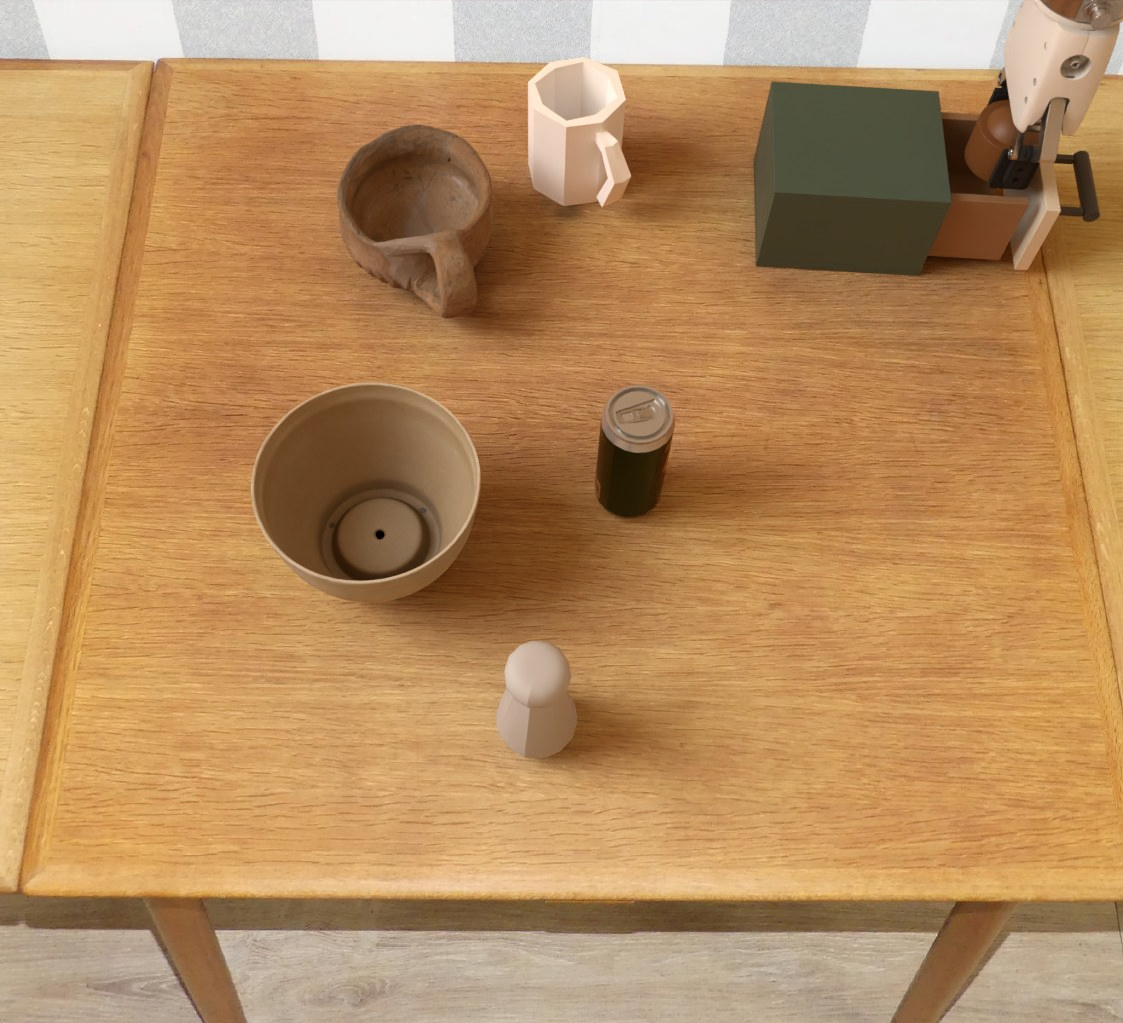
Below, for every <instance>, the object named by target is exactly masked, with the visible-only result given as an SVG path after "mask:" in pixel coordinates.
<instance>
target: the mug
mask: <svg viewBox="0 0 1123 1023" xmlns="http://www.w3.org/2000/svg"><path fill="white" fill-rule="evenodd" d="M626 101H627V98H626V95H625V92H624V88H623V84H622V81H621V78H620V74H619V71H618V70H617V69H614V68H612V67H611V66H607V65H605V64H602V63H600V62H598V61H596V60H593V59H590V58H588V57H586V56H582V57H581V56H580V57H576V58H570V59H569V58H568V59H563V60H555V61H550V62H548V63H547V64H546V65H545V66H544V67H543V68H542V69H541V70H540V71H539V72H537V73H536V74H535V75H534V76H533V77H532V78H531V79H530V80H529V81H527V155H528V156H527V164H528V168H529V169H528V170H529V174H530V179H531V183H532V188H533V190H535V191H536V192H538V193H540V194H542V195H543V196H545V197H547V198H549V199H550V200H552V201H553V202H555V203H557V204H559V205H561V206H563V207H568V206H569V207H570V206H575V205H576V206H577V205H584V204H593V203H597V202H598V203H599V205H600V206H601V208H604V207H607V206H609V205H612V204H614V203H615V202H618V201H620V200H621V199H622V197H623V196H624V194H625V191H626V189H627V187H628V184H629V182H630V180H631V178H632V174H631V171H630V169H629V165H628V163H627V161H626V159H625V155H624V153H623V150H622V148H623V147H622V146H623V135H624V125H625V124H624V123H625V114H626V113H625V112H626V104H627V103H626Z"/></svg>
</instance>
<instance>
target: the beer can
mask: <svg viewBox="0 0 1123 1023" xmlns="http://www.w3.org/2000/svg"><path fill="white" fill-rule="evenodd" d="M675 427H676V421H675V414H674V410H673V405H672V404H671V402H670V400H669V398H668V397H667V396H666V395H665V394H664V393H663V392H662V391H660V390H658V389H657V388H655V387H653V386H649V385H645V384H631V385H630V384H629V385H627V386H624V387H621V388H619V389H618V390H616V392H614V393H612V395H611V396H610V397H609V399H608V401H607V402H606V404H605V406H604V407H603V409H602V413H601V417H600V426H599V437H598V446H597V457H596V467H595V477H594V492H595V493H594V494H595V497H596V498H597V501H598V503H599V505H601V507H603V508H604V509H605V510H606V511H607V513H610V514H611V515H613V516H615V517H618V518H622V519H636V518H638V517H641V516H644V515H647V514H649V512H651V511H652V510H653V509H655V508H656V506H657V505H658V503H659V501H660V499H661V495H662V491H663V486H664V481H665V476H666V472H667V468H668V461H669V456H670V451H671V448H672V442H673V437H674V432H675Z"/></svg>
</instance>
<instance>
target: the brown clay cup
mask: <svg viewBox="0 0 1123 1023" xmlns="http://www.w3.org/2000/svg"><path fill="white" fill-rule="evenodd" d="M474 148H475V147H473V146H472V145H471V144H470V143H469V142H468V141H467V140H466V139H465V138H463V137H461V136H459V135H458V134H456V133H453V132H451V131H448V130H444V129H441V128H438V127H434V126H430V125H424V124H409V125H403V126H400V127H398V128H395V129H391V130H389V131H386V132H385V133H383V134H381V135H379V136H378V137H376V138H374V139H373V140H372V141H369V142H368V143H367V144H364V145H362V147H360V148H359V149H358V150H357V151H355V153H353V154H352V156H351V157H350V159H349V160H348V162H347V164H346V166H345V167H344V170H343V172H342V174H341V176H340V179H339V181H338V185H337V189H336V200H337V205H338V207H337V208H338V213H339V215H338V221H339V222H338V226H339V232H340V234H341V235H340V236H341V239H342V241H343V243H344V244H345V246H346V250H347V252H348V254H349V255H350V257H351V258H352V259H353V260H354V261H353V262H354V263H355V264H356V265H357V266H358V267H360V268H361V269H362V270H364V271H365V272H366V273H367V274H368V275H370V276H371V277H373V278H375V279H377V280H379V281H380V282H381V283H384V284H389V285H390V286H391V287H392V288H394V289H404V290H407V291H410V292H413V293H414V294H415V295H416V296H417V297H418V298H420V299H421V300H422V301H423V302H424V303H425V304H426V305H427V306H428V307H429V308H430V309H431V310H433V312H434V313H435V314H436V315H438V317H440V318H442V319H454V318H455V319H456V318H460V317H462V316H465V315H467V314H469V313H471V312H472V311H474V310H475V308H476V307H477V306H478V298H479V293H478V286H477V280H476V277H475V271H474V269H475V268H476V267H477V266H478V265H479V262H480V260H481V257H482V255H483V254H484V253H485V251H486V249H487V247H488V245H489V242H490V240H491V238H492V237H491V236H492V232H493V229H494V228H493V226H494V225H493V224H494V212H493V205H492V199H493V191H494V190H493V183H492V179H491V175H490V172H489V170H488V168H487V166H486V164H485V163H484V161H483V159H482V157H481V156H480V155H479V153H478V152H477V151H476V149H474Z"/></svg>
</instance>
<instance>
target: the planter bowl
mask: <svg viewBox="0 0 1123 1023" xmlns="http://www.w3.org/2000/svg"><path fill="white" fill-rule="evenodd" d="M481 487H482V474H481V464H480V459H479V456H478V452H477V449H476V446H475V444H474V442H473V439H472V437H471V435H470V434H469V432H468V430H467V429H466V427H465V426H464V425H463V423H462V422H461V421H460V420H459V419H458V418H457V416H456V415H455V414H454V413H452V412H451V410H450V409H448V407H446V406H445V405H443V404H442V403H440V402H439V401H438V400H436V399H435V398H433V397H431V396H429V395H427V394H425V393H423V392H422V391H419V390H417V389H414V388H411V387H407V386H404V385H399V384H393V383H387V382H376V381H375V382H374V381H373V382H371V381H370V382H369V381H368V382H355V383H350V384H345V385H344V384H343V385H340V386H335V387H332V388H329V389H327V390H324V391H322V392H319V393H317V394H315V395H313V396H311V397H309V398H308V399H306V400H304V401H302V402H300V403H299V404H297V405H296V406H294V407H293V408H291V410H289V411H288V412H287V413H286V414H285V415H284V416H282V417H281V418H280V420H278V422H277V423H276V424H275V425H274V426H273V427H272V429H271V430H270V431H269V433H268V434H267V436H266V437H265V439H264V440H263V442H262V444H261V445H260V448H259V450H258V452H257V455H256V458H255V462H254V465H253V468H252V473H251V479H250V498H251V505H252V509H253V510H252V511H253V513H254V517H255V520H256V523H257V525H258V527H259V529H260V530H261V533H262V534H263V536H264V538H265V540H266V541H267V542H268V544H269V545H270V547H271V548H272V549H273V550H274V551H275V553H276V554H277V555H278V556H279V557H280V559H281V560H282V561H283V562H284V563H285V564H286V565H287V567H288V568H289V569H290V570H291V571H292V572H293V573H294V574H295V575H297V576H298V577H299V578H300V579H301V580H302V581H304V582H305V583H307V584H308V585H310V586H311V587H313V588H314V589H316V590H318V591H320V592H322V593H324V594H326V595H329V596H331V597H335V598H338V599H341V600H345V601H350V602H356V603H371V604H372V603H385V602H390V601H394V600H398V599H401V598H405V597H407V596H410V595H412V594H415V593H417V592H419V591H421V590H422V589H425V588H426V587H428V586H429V585H431V584H432V583H433V582H435V581H437V579H439V577H441V576H442V575H443V574H444V573H445V572H446V571H447V570H448V569H449V568H450V567H451V566H452V564H453V563H454V562H455V560H456V559H457V558H458V556H459V555H460V553H461V552H462V550H463V548H464V546H465V545H466V543H467V541H468V539H469V537H470V534H471V531H472V528H473V526H474V521H475V519H476V512H477V509H478V505H479V501H480V496H481ZM379 531H381V532H383V534H384V535H383V537H382V538H381V539H379V538H378V537H377V532H379Z"/></svg>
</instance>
